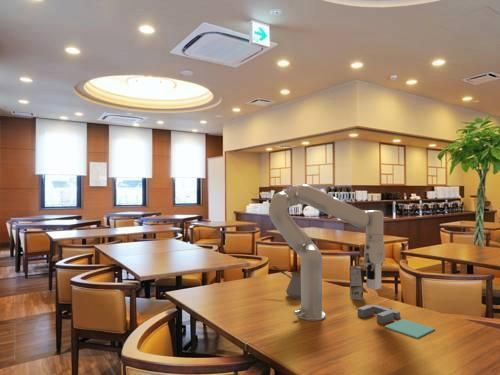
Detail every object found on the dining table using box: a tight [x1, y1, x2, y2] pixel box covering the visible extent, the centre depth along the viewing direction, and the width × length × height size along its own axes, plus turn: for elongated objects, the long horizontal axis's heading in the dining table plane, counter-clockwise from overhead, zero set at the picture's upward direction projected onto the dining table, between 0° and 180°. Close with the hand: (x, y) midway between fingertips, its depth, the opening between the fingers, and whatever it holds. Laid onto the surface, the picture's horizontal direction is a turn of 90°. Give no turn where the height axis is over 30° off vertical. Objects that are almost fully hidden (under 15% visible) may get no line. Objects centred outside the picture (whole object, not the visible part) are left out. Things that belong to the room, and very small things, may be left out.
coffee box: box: [349, 265, 364, 301], centre depth 190 cm, size 9×6×16 cm
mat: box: [383, 318, 436, 340], centre depth 147 cm, size 14×14×1 cm
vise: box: [357, 304, 401, 325], centre depth 162 cm, size 16×13×4 cm
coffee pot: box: [271, 265, 301, 300], centre depth 194 cm, size 21×12×15 cm, turn 55°
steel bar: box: [366, 262, 382, 291], centre depth 160 cm, size 4×4×12 cm
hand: (373, 277), depth 160 cm, fingers closed on steel bar, 4 cm apart
